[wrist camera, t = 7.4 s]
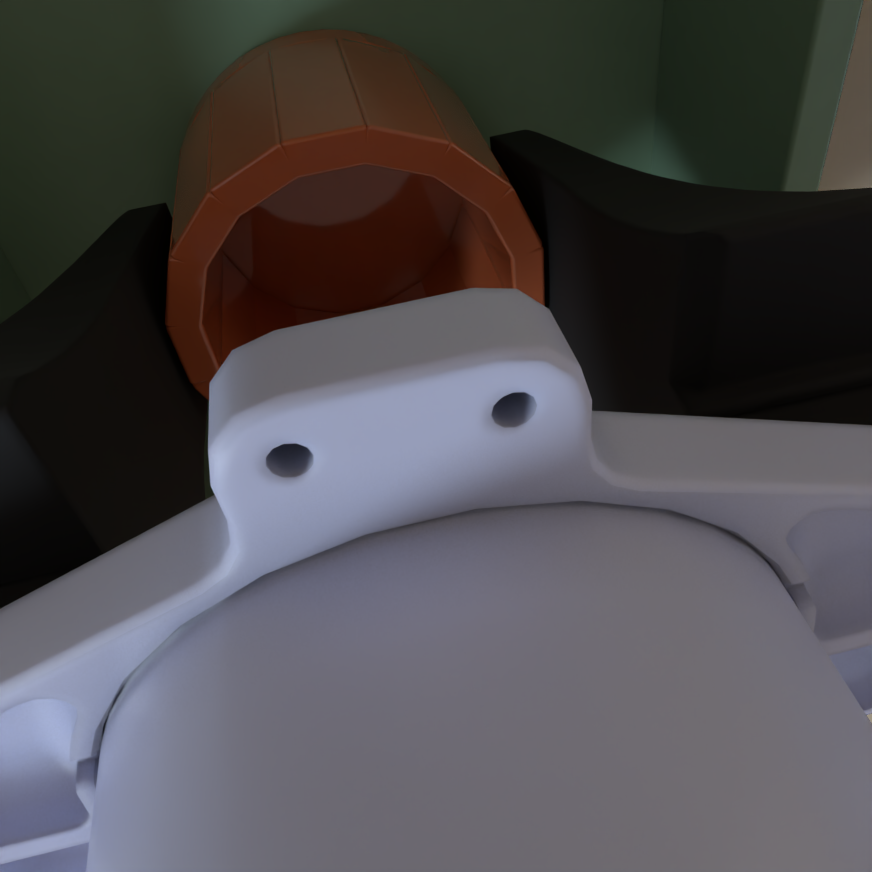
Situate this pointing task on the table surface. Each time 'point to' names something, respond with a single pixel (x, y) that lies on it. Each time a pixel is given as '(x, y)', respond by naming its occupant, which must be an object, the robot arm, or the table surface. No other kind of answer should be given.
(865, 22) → the table surface
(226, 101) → the terracotta cup
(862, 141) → the table surface
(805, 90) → the sage tub
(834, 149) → the table surface
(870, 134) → the table surface
